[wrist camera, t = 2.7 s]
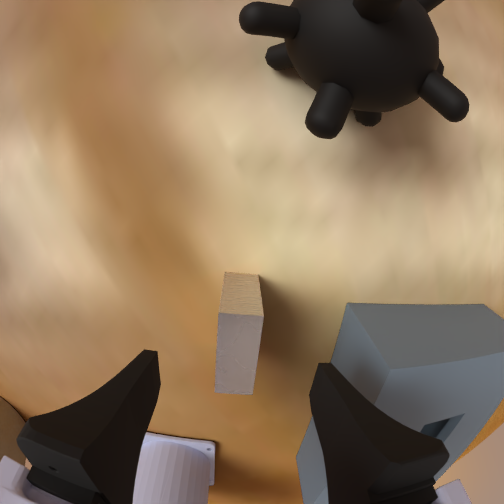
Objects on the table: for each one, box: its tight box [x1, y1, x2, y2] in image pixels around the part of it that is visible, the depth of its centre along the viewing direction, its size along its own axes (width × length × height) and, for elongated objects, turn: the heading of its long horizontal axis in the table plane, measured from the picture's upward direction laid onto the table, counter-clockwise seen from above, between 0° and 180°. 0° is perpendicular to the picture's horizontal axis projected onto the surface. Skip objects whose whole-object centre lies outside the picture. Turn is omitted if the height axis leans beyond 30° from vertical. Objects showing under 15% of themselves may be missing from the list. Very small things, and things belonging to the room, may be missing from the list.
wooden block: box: [215, 272, 264, 395], centre depth 16 cm, size 5×2×5 cm, turn 174°
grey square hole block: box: [296, 303, 504, 504], centre depth 18 cm, size 18×14×7 cm
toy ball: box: [239, 0, 469, 139], centre depth 10 cm, size 10×10×11 cm
